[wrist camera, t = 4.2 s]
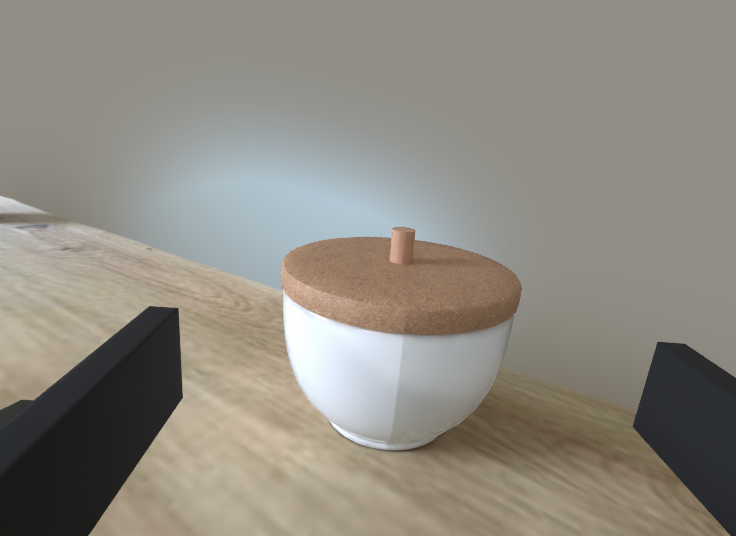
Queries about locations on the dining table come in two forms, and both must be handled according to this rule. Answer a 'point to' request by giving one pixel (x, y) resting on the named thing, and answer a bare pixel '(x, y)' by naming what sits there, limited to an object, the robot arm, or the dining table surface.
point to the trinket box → (395, 333)
